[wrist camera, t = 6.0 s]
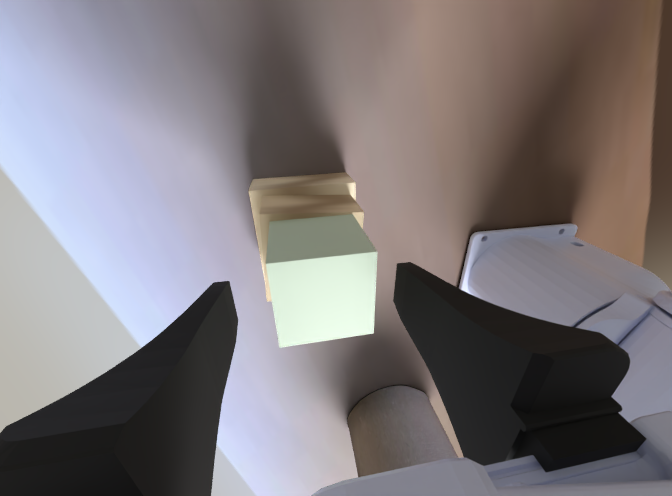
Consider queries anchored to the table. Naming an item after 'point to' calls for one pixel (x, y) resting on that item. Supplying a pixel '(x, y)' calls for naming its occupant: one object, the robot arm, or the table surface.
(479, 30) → the table surface
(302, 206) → the beige square block
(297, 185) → the base slab
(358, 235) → the sage cube
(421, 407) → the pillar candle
